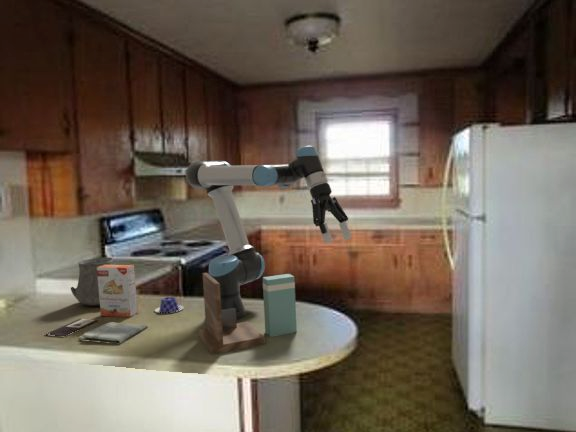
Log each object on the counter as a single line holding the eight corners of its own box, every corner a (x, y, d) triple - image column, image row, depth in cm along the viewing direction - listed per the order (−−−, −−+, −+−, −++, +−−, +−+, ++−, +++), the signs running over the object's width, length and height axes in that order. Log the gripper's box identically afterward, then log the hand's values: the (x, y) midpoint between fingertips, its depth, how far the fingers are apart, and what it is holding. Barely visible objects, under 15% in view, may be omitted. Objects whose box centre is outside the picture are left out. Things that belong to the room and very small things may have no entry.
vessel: (80, 314, 199) (76, 267, 197) (69, 303, 217) (65, 260, 215) (131, 303, 212) (128, 259, 210) (116, 294, 230) (113, 253, 227)
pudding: (155, 307, 204) (155, 296, 204) (184, 305, 207) (183, 293, 206) (153, 316, 193) (152, 303, 192) (183, 313, 195) (182, 300, 194)
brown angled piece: (248, 327, 172) (244, 267, 170) (264, 344, 156) (261, 277, 154) (199, 336, 166) (195, 274, 163) (211, 354, 149) (207, 285, 147)
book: (265, 332, 167) (262, 277, 165) (291, 327, 171) (288, 273, 169) (270, 336, 162) (267, 280, 160) (296, 331, 166) (294, 276, 164)
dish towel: (149, 328, 178) (149, 320, 178) (120, 346, 161) (119, 337, 161) (108, 326, 184) (107, 318, 183) (75, 342, 166) (74, 334, 166)
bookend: (234, 325, 168) (233, 306, 168) (236, 327, 166) (235, 308, 165) (209, 329, 165) (208, 310, 164) (211, 331, 163) (210, 312, 162)
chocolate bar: (44, 334, 174) (79, 318, 191) (44, 336, 174) (79, 321, 191) (64, 336, 171) (98, 320, 188) (64, 338, 171) (98, 322, 188)
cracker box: (100, 316, 194) (95, 267, 192) (108, 312, 200) (104, 264, 198) (130, 318, 191) (126, 267, 188) (138, 313, 196) (134, 264, 194)
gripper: (307, 181, 160) (329, 239, 156) (343, 182, 180) (364, 234, 176) (291, 190, 164) (311, 247, 160) (328, 190, 184) (347, 241, 180)
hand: (339, 240), depth 168 cm, fingers open, 13 cm apart
